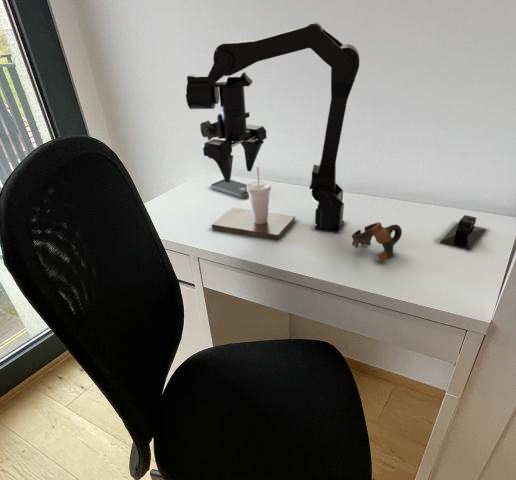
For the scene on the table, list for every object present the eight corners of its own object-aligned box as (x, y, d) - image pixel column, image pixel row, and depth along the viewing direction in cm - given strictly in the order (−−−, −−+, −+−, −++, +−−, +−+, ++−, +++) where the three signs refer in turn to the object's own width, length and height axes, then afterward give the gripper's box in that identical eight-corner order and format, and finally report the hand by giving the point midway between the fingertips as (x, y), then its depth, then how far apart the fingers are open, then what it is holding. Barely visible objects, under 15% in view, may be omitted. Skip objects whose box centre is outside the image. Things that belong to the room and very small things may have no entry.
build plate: (469, 250, 96) (474, 232, 93) (438, 243, 100) (442, 225, 97) (485, 230, 103) (491, 212, 100) (456, 223, 107) (461, 206, 103)
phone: (209, 187, 136) (242, 198, 128) (209, 184, 136) (242, 195, 127) (226, 181, 140) (259, 191, 131) (226, 178, 140) (259, 188, 131)
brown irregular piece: (372, 270, 93) (358, 237, 90) (353, 268, 102) (341, 238, 99) (415, 245, 94) (403, 212, 91) (393, 245, 103) (382, 215, 100)
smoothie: (272, 215, 114) (270, 163, 104) (272, 225, 109) (270, 172, 100) (249, 216, 114) (245, 164, 105) (248, 226, 109) (244, 173, 100)
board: (295, 221, 113) (295, 216, 112) (278, 240, 106) (277, 235, 105) (232, 212, 121) (232, 207, 120) (212, 229, 113) (211, 224, 112)
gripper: (230, 98, 104) (236, 161, 114) (180, 114, 93) (191, 183, 103) (266, 101, 99) (268, 167, 109) (217, 119, 88) (225, 190, 98)
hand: (238, 176), depth 105 cm, fingers open, 9 cm apart
